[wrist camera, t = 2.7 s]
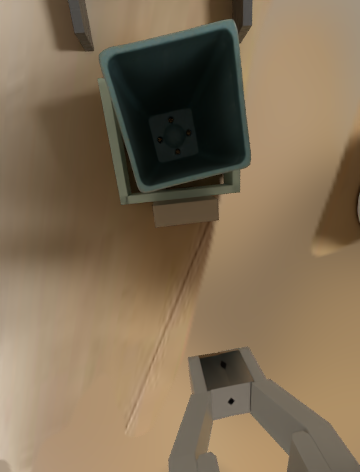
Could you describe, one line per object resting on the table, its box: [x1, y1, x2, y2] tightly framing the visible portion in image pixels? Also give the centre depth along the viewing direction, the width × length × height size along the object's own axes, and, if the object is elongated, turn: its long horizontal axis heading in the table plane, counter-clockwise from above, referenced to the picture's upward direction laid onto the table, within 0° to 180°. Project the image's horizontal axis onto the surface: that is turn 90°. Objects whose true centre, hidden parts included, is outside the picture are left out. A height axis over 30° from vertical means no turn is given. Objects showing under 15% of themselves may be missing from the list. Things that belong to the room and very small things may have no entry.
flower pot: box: [99, 19, 251, 193], centre depth 17 cm, size 9×9×9 cm
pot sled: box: [98, 78, 240, 228], centre depth 19 cm, size 13×13×6 cm
